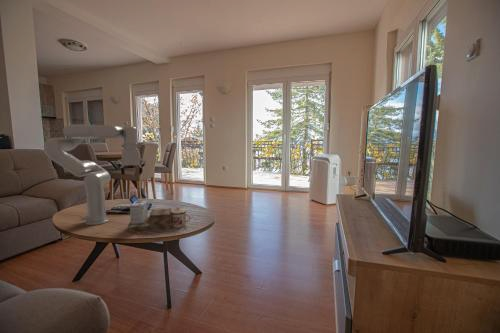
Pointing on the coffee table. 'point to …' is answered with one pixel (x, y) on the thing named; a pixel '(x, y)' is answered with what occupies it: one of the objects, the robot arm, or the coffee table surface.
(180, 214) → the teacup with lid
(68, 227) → the coffee table surface
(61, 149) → the robot arm
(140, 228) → the step stand
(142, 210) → the light bulb box
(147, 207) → the handheld game console
